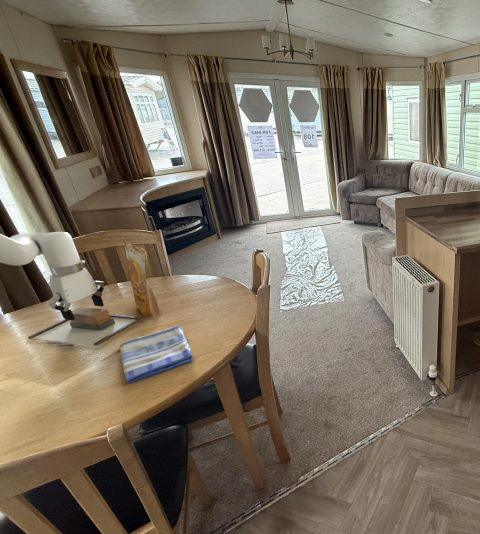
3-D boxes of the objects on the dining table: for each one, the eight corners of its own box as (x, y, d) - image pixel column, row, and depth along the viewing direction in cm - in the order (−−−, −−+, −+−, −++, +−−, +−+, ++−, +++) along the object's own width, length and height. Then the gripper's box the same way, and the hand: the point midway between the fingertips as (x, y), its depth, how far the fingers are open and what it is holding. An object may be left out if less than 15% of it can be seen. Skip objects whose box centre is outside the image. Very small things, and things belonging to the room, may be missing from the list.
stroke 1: (50, 344, 114) (47, 345, 113) (49, 341, 113) (46, 343, 113) (64, 345, 114) (61, 346, 113) (63, 342, 113) (60, 344, 112)
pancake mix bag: (154, 299, 143) (131, 236, 131) (168, 315, 132) (146, 248, 121) (133, 305, 138) (108, 240, 126) (147, 322, 127) (121, 253, 116)
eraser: (71, 327, 121) (64, 313, 118) (86, 320, 125) (80, 306, 123) (101, 330, 120) (94, 316, 117) (115, 323, 124) (109, 309, 122)
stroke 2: (59, 347, 112) (57, 348, 112) (58, 344, 112) (56, 346, 111) (75, 346, 113) (73, 348, 112) (74, 344, 112) (72, 345, 112)
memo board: (29, 340, 115) (27, 336, 114) (83, 314, 131) (81, 311, 130) (97, 348, 113) (95, 344, 112) (144, 320, 128) (142, 317, 127)
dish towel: (183, 329, 124) (180, 322, 123) (196, 360, 108) (193, 353, 107) (120, 348, 113) (117, 341, 112) (125, 386, 97) (121, 379, 96)
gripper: (85, 258, 122) (101, 300, 129) (25, 278, 106) (47, 324, 113) (103, 260, 121) (118, 302, 128) (46, 280, 106) (67, 326, 112)
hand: (85, 312), depth 120 cm, fingers open, 9 cm apart
